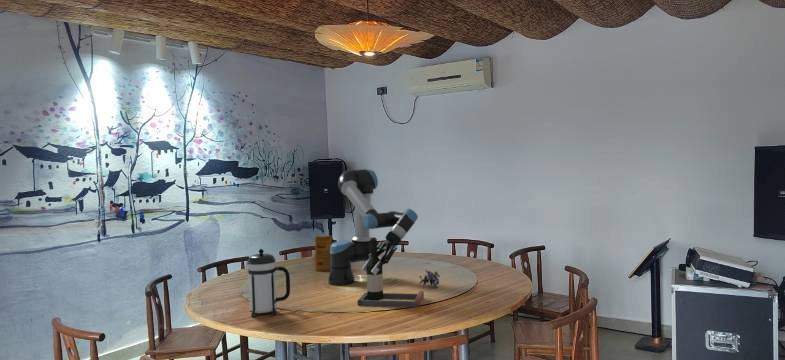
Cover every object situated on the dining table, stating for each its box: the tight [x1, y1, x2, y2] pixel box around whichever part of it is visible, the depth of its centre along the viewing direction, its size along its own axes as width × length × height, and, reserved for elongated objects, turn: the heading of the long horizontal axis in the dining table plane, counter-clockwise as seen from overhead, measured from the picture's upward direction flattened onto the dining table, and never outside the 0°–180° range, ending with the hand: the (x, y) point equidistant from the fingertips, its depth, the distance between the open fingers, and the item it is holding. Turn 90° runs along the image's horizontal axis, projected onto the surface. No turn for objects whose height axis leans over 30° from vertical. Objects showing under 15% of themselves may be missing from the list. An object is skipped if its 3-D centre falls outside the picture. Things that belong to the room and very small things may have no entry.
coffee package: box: [313, 235, 333, 272], centre depth 342 cm, size 10×12×22 cm
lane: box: [357, 290, 425, 308], centre depth 259 cm, size 30×15×4 cm, turn 79°
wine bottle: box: [365, 237, 384, 301], centre depth 260 cm, size 8×8×30 cm
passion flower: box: [419, 269, 441, 289], centre depth 287 cm, size 11×11×12 cm
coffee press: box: [243, 248, 291, 318], centre depth 247 cm, size 17×16×30 cm
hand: (368, 271), depth 258 cm, fingers closed on wine bottle, 8 cm apart
